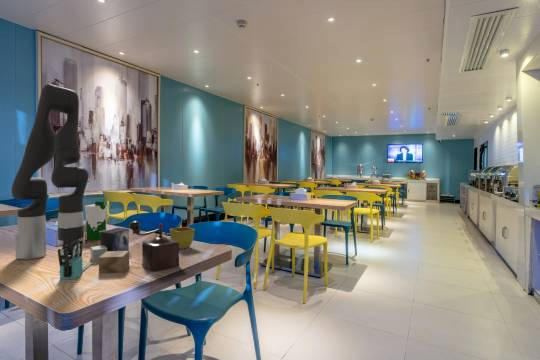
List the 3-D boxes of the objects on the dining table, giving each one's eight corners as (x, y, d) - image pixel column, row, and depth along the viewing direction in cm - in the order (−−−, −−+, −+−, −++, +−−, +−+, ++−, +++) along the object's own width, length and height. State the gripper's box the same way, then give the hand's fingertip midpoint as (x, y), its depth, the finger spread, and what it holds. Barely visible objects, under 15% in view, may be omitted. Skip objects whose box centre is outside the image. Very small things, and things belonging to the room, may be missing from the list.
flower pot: (185, 244, 151) (185, 226, 150) (195, 247, 145) (195, 229, 144) (169, 247, 145) (169, 228, 144) (178, 251, 138) (178, 231, 138)
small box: (113, 257, 127) (112, 232, 127) (99, 256, 129) (99, 231, 129) (129, 251, 138) (129, 228, 137) (117, 250, 139) (117, 227, 139)
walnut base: (98, 274, 108) (98, 257, 107) (106, 267, 115) (106, 251, 115) (122, 273, 109) (122, 256, 109) (129, 266, 117) (129, 250, 117)
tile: (59, 272, 108) (59, 271, 108) (69, 265, 116) (69, 264, 116) (83, 271, 110) (83, 270, 110) (92, 264, 118) (92, 263, 118)
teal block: (60, 279, 102) (59, 261, 101) (66, 274, 107) (66, 257, 106) (76, 278, 103) (76, 261, 102) (82, 273, 108) (82, 256, 107)
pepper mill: (165, 259, 125) (165, 216, 124) (179, 266, 117) (179, 219, 117) (127, 268, 114) (127, 220, 113) (139, 275, 106) (139, 224, 106)
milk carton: (98, 241, 155) (97, 202, 154) (82, 240, 156) (81, 201, 156) (109, 237, 164) (109, 200, 163) (94, 236, 165) (94, 200, 164)
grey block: (93, 250, 120) (90, 247, 125) (93, 262, 120) (90, 259, 125) (107, 248, 123) (104, 245, 128) (107, 260, 124) (104, 256, 128)
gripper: (68, 221, 110) (68, 267, 111) (47, 229, 96) (48, 282, 97) (90, 221, 112) (91, 266, 112) (73, 228, 98) (74, 280, 98)
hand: (71, 273), depth 105 cm, fingers closed on teal block, 5 cm apart
